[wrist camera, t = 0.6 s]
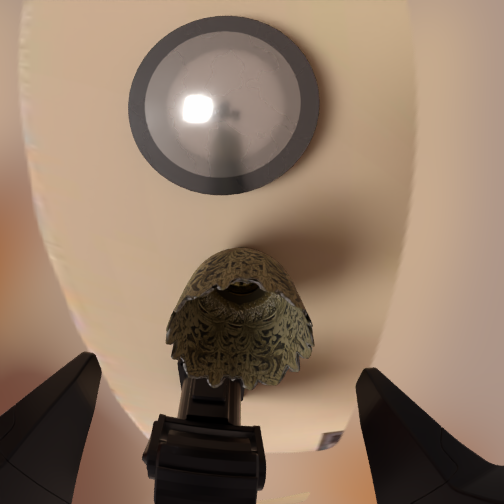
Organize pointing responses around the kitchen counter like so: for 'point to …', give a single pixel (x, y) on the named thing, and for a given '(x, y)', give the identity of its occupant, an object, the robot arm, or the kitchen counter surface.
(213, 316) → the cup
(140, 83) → the gray-rimmed plate
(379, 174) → the kitchen counter surface
